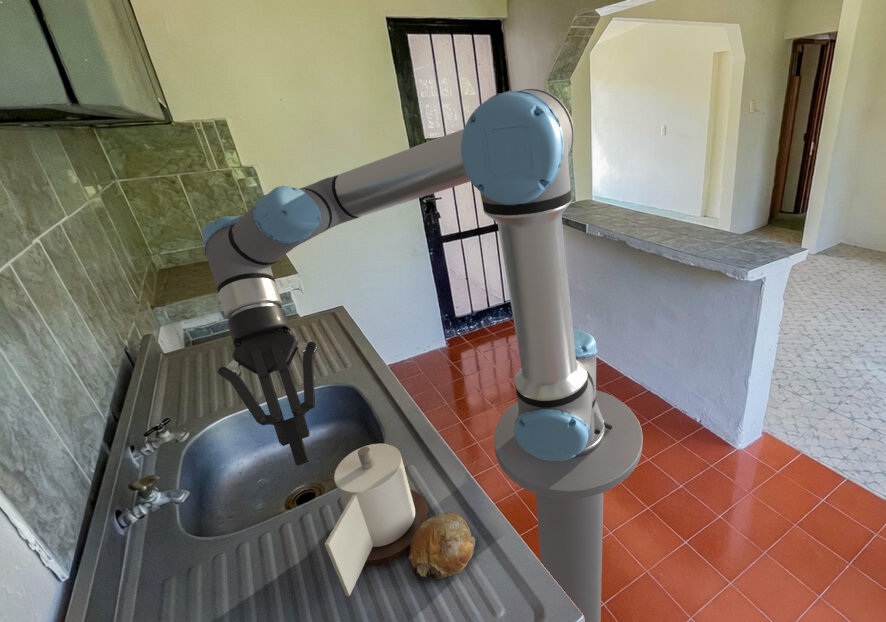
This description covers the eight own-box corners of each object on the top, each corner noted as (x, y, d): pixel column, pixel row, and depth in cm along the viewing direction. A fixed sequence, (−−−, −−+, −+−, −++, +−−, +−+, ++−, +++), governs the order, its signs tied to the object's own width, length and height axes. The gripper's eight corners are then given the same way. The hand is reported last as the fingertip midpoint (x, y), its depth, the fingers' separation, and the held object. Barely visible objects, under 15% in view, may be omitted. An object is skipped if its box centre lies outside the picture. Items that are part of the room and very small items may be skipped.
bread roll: (478, 578, 73) (493, 536, 71) (419, 599, 66) (433, 553, 64) (451, 535, 80) (464, 496, 78) (395, 549, 73) (407, 507, 71)
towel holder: (427, 485, 85) (410, 412, 77) (430, 551, 73) (411, 473, 65) (348, 504, 82) (322, 430, 74) (337, 577, 70) (305, 498, 62)
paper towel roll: (381, 489, 83) (365, 437, 77) (427, 504, 79) (414, 451, 74) (302, 578, 68) (276, 522, 63) (354, 601, 65) (332, 545, 59)
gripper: (305, 310, 75) (351, 446, 71) (212, 334, 69) (255, 484, 65) (300, 293, 69) (350, 441, 64) (196, 318, 63) (243, 483, 58)
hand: (302, 463), depth 65 cm, fingers closed
